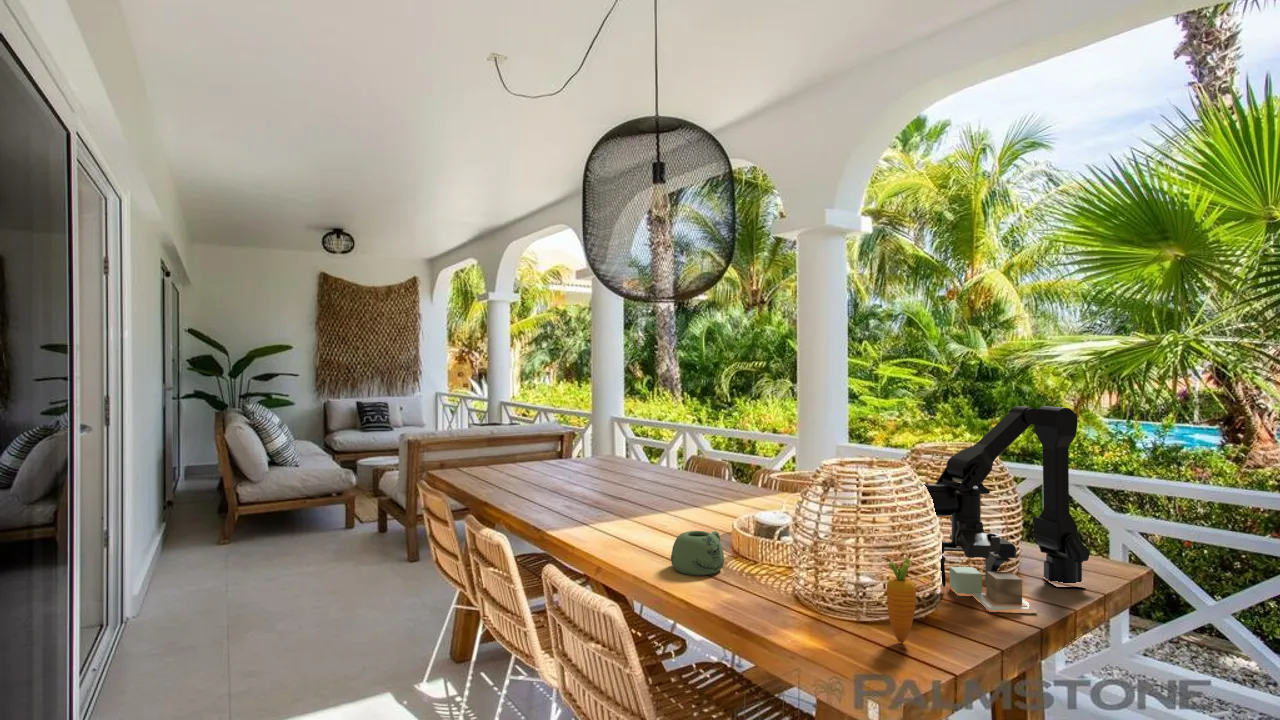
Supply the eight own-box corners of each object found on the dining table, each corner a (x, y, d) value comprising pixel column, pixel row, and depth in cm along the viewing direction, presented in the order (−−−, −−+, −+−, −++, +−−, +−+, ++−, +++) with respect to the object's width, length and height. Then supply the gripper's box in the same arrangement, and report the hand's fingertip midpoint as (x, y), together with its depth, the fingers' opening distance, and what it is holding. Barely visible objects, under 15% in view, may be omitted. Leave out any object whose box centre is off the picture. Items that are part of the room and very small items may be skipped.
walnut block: (1011, 596, 148) (1011, 572, 148) (1022, 604, 143) (1022, 579, 143) (986, 595, 148) (986, 571, 148) (996, 603, 143) (996, 578, 143)
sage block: (973, 590, 156) (973, 567, 156) (982, 597, 151) (982, 574, 151) (949, 589, 156) (949, 566, 156) (957, 597, 151) (957, 573, 151)
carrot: (889, 648, 124) (889, 562, 124) (884, 637, 129) (884, 554, 129) (919, 649, 123) (919, 563, 123) (912, 638, 128) (912, 555, 128)
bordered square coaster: (1017, 599, 150) (1017, 593, 150) (1037, 614, 141) (1037, 608, 141) (973, 597, 150) (973, 592, 150) (989, 612, 141) (989, 606, 141)
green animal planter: (704, 581, 161) (704, 543, 161) (659, 570, 170) (659, 534, 170) (741, 565, 174) (741, 530, 174) (697, 556, 182) (697, 522, 182)
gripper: (932, 522, 146) (932, 597, 146) (1027, 524, 144) (1027, 601, 145) (917, 510, 157) (916, 581, 157) (1005, 512, 156) (1005, 584, 156)
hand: (965, 587), depth 153 cm, fingers open, 9 cm apart
